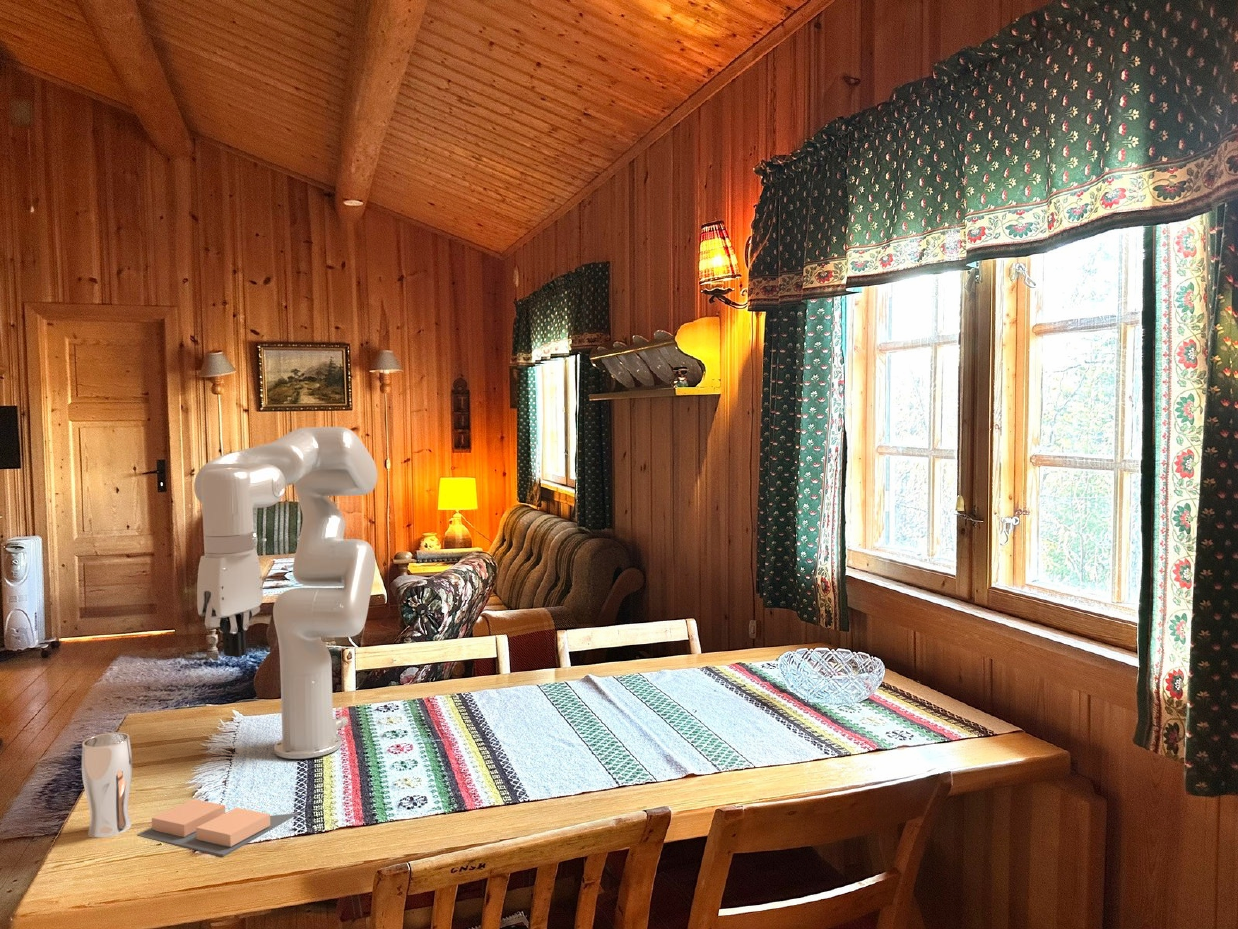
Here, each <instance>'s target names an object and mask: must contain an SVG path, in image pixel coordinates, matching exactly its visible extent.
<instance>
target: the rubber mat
mask: <svg viewBox="0 0 1238 929" xmlns="http://www.w3.org/2000/svg"><path fill="white" fill-rule="evenodd" d="M299 814H300V812H297V813H296V812H295V813H286V814H277V815H276V814H275V815H274V814H273V815H270V826H268V828H266V829H264V830H262V831H261V832H259V833H257V834H255V835H253V836H251V837H249V838H248V839H246V840H244V841H242V842H240V843H238V844H236V845H235V846H233V847H227V846H222V845H218V844H213V843H209V842H204V841H200V840H198V839H196V832H194V833H192V834H190V835H188V836H186V837H182V836H177V835H173V834H168V833H164V832H159V831H155V830H154V829H152V827H151V828H149V829H147V830H145V831H143V832H140V833H138V834H137V836H138V837H141V838H146V839H150V840H154V841H158V842H163V843H165V844H170V845H174V846H178V847H181V848H182V847H183V848H186V849H189V850H194V851H197V852H202V853H205V854H209V855H212V856H213V855H214V856H217V857H221V858H225V857H226V856H228V855H229V854H232V853H234V852H235V851H236V850H238V849H240V848H242V847H245V845H247V844H249V843H250V842H253V841H254V840H256V839H258V838H259V837H261V836H263V835H264V834H266V833H268V832H270V831H271V830H273V829H275V828H276V827H277V828H278V826H280V825H282V824H284V823H286V822H287V821H289V820H291V819H292V818H294V817H296V816H297V815H299Z"/></svg>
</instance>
